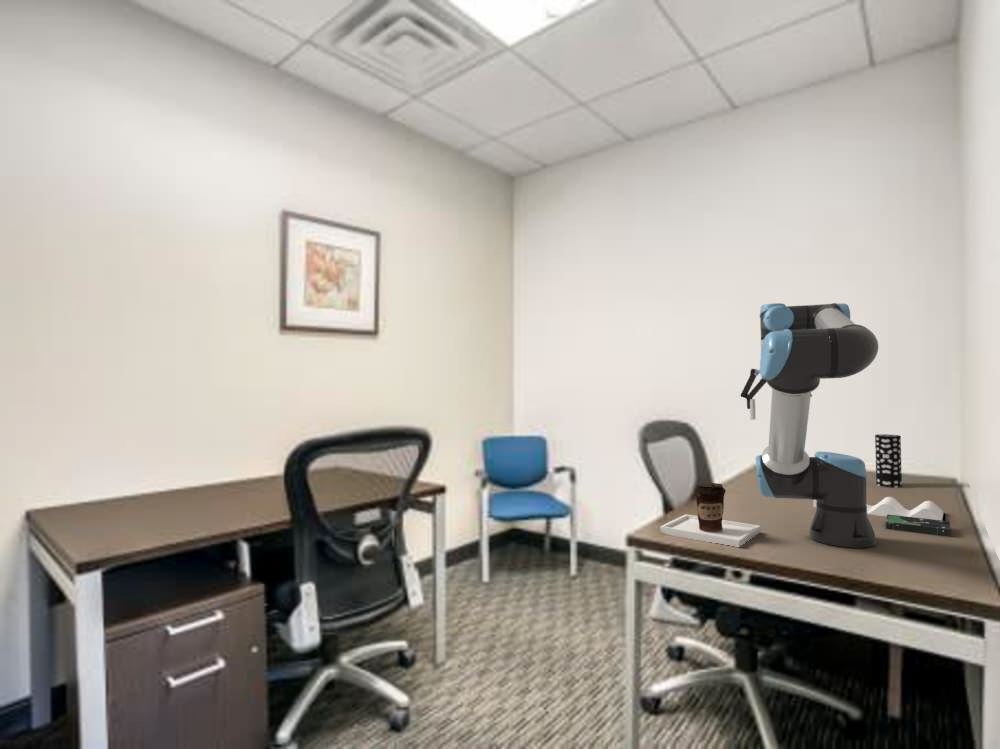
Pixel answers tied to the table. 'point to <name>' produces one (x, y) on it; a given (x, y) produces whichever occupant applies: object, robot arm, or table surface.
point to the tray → (730, 535)
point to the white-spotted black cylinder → (888, 460)
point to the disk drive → (918, 525)
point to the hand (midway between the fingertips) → (775, 420)
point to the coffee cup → (710, 506)
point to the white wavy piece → (894, 508)
